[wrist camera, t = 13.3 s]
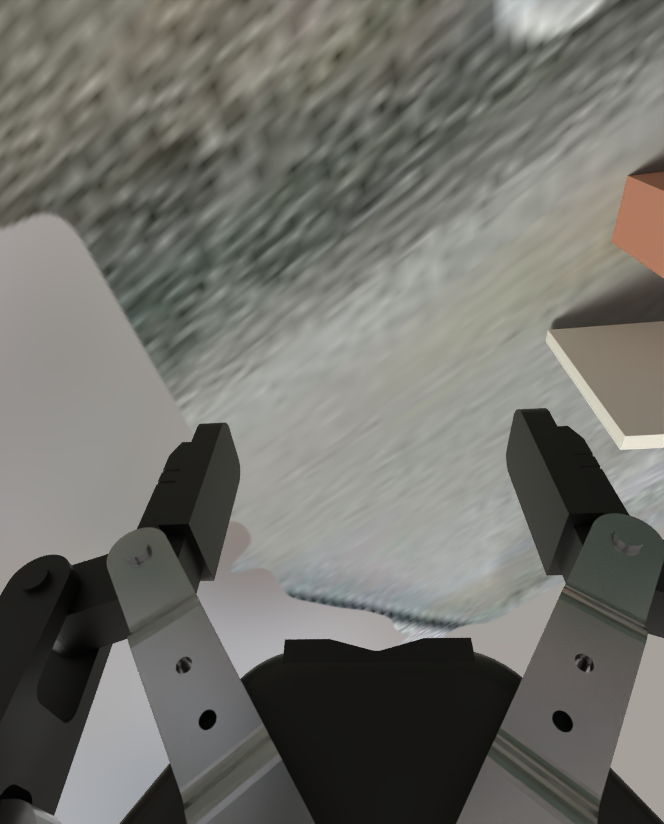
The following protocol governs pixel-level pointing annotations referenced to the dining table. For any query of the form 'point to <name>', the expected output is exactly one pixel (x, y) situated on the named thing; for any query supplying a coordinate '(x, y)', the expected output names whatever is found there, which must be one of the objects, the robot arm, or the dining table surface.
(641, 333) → the door
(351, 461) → the dining table surface
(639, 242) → the salmon orange block
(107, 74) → the dining table surface
